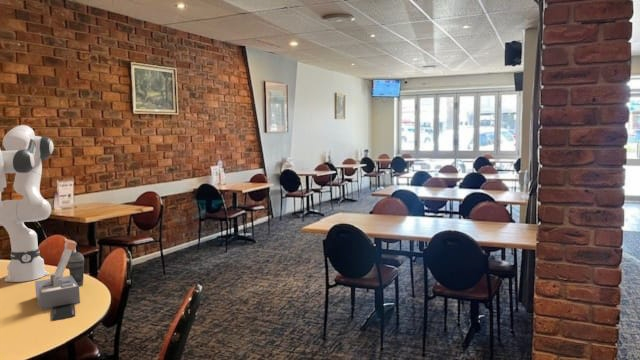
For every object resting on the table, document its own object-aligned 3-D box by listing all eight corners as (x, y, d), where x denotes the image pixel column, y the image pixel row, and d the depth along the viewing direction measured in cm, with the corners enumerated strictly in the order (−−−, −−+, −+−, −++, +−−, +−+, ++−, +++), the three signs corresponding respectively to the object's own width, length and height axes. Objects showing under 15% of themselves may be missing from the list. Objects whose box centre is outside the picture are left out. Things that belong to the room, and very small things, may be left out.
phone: (74, 303, 192) (75, 314, 179) (74, 305, 192) (75, 317, 179) (52, 306, 188) (51, 319, 175) (52, 309, 188) (51, 321, 175)
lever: (50, 279, 200) (66, 238, 202) (58, 281, 201) (74, 240, 204) (52, 284, 193) (69, 242, 196) (60, 285, 195) (77, 244, 198)
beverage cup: (79, 288, 213) (75, 244, 212) (65, 287, 215) (61, 244, 213) (89, 283, 221) (86, 241, 219) (76, 282, 222) (73, 241, 220)
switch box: (36, 297, 202) (34, 274, 201) (72, 290, 210) (71, 268, 209) (40, 310, 186) (38, 286, 185) (80, 302, 194) (78, 279, 193)
